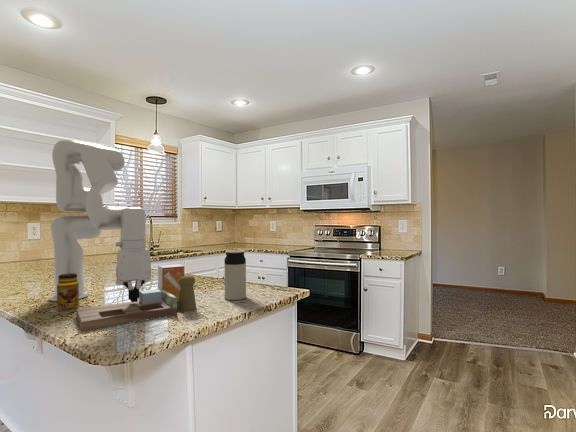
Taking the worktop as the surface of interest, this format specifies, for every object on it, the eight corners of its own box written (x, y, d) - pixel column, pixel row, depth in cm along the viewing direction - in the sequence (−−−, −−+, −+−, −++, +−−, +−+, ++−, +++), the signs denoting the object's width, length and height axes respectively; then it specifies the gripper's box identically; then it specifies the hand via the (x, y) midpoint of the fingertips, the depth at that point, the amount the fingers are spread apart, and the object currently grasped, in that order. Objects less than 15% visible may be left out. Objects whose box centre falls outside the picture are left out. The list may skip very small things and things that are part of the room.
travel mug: (232, 301, 127) (231, 252, 127) (220, 298, 133) (220, 250, 133) (250, 298, 132) (249, 250, 132) (238, 294, 138) (238, 249, 138)
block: (139, 301, 118) (139, 291, 118) (157, 299, 121) (157, 288, 121) (142, 304, 113) (142, 293, 113) (161, 301, 117) (161, 291, 117)
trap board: (76, 317, 108) (76, 299, 108) (162, 304, 123) (162, 288, 123) (81, 331, 95) (81, 310, 95) (176, 314, 110) (176, 297, 110)
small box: (162, 304, 123) (161, 267, 123) (157, 300, 129) (157, 265, 129) (185, 301, 128) (184, 265, 128) (179, 297, 133) (179, 263, 133)
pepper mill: (199, 307, 119) (199, 275, 119) (189, 312, 114) (189, 278, 113) (184, 306, 121) (184, 274, 121) (173, 310, 115) (173, 277, 115)
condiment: (66, 314, 112) (66, 276, 112) (46, 312, 115) (46, 275, 115) (85, 308, 119) (85, 273, 119) (66, 306, 122) (66, 272, 122)
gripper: (109, 247, 107) (110, 307, 107) (160, 244, 116) (160, 300, 116) (106, 245, 113) (106, 302, 113) (154, 243, 122) (154, 295, 122)
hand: (133, 301), depth 115 cm, fingers closed
